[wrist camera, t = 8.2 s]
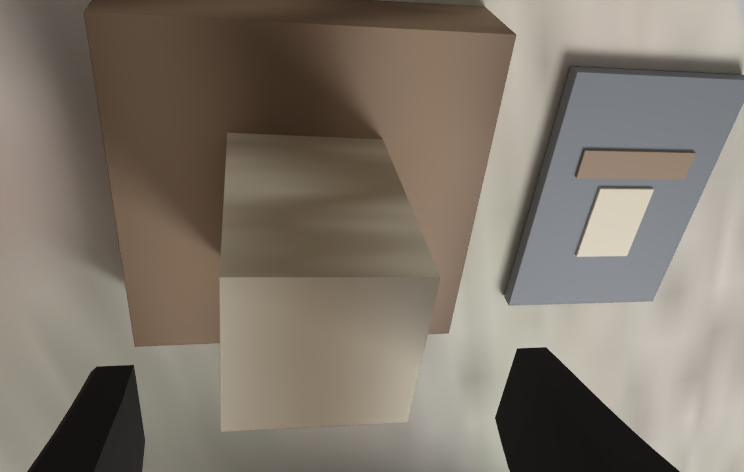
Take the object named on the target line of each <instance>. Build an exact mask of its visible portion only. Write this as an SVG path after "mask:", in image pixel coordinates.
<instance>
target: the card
mask: <svg viewBox="0 0 744 472" xmlns="http://www.w3.org/2000/svg"><path fill="white" fill-rule="evenodd" d="M743 103H744V75H736V74H716V73H696V72H675V71H655V70H635V69H615V68H595V67H575V66H570V70H569V73H568V77H567V80H566V84H565V87H564V91H563V94H562V98H561V101H560V105H559V108H558V112H557V115H556V119H555V122H554V126H553V129H552V133H551V136H550V140H549V143H548V147H547V150H546V154H545V157H544V161H543V164H542V167H541V171H540V174H539V178H538V181H537V185H536V188H535V192H534V195H533V199H532V202H531V206H530V209H529V213H528V216H527V220H526V223H525V227H524V230H523V234H522V237H521V241H520V244H519V248H518V251H517V255H516V258H515V262H514V265H513V269H512V272H511V276H510V279H509V283H508V286H507V290H506V293H505V299H506V301H507V303H508V305H543V304H577V303H612V302H646V301H653V299H654V297H655V295H656V293H657V291H658V288H659V286H660V284H661V282H662V280H663V277H664V275H665V273H666V271H667V269H668V267H669V264H670V262H671V260H672V258H673V256H674V253H675V251H676V249H677V247H678V245H679V242H680V240H681V238H682V236H683V234H684V232H685V229H686V227H687V225H688V223H689V221H690V218H691V216H692V214H693V212H694V210H695V208H696V205H697V203H698V201H699V199H700V197H701V194H702V192H703V190H704V188H705V186H706V183H707V181H708V179H709V177H710V175H711V173H712V170H713V168H714V166H715V164H716V162H717V159H718V157H719V155H720V153H721V151H722V149H723V146H724V144H725V142H726V140H727V138H728V135H729V133H730V131H731V129H732V127H733V124H734V122H735V120H736V118H737V116H738V114H739V111H740V109H741V107H742V105H743Z"/></svg>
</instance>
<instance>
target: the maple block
mask: <svg viewBox="0 0 744 472" xmlns="http://www.w3.org/2000/svg"><path fill="white" fill-rule="evenodd" d="M440 278H441V277H440V274H439V272H438V269H437V267H436V265H435V262H434V260H433V258H432V255H431V253H430V250H429V248H428V246H427V243H426V241H425V238H424V236H423V234H422V231H421V229H420V227H419V224H418V222H417V219H416V217H415V215H414V212H413V210H412V207H411V205H410V203H409V200H408V198H407V196H406V193H405V191H404V188H403V186H402V184H401V181H400V179H399V176H398V174H397V172H396V169H395V167H394V165H393V162H392V160H391V157H390V155H389V153H388V150H387V148H386V145H385V143H384V141H383V139H361V138H338V137H316V136H293V135H270V134H247V133H227V148H226V166H225V185H224V203H223V222H222V240H221V259H220V277H219V280H220V389H221V432H226V431H246V430H265V429H285V428H305V427H325V426H345V425H364V424H384V423H404V422H408V419H409V415H410V410H411V406H412V401H413V397H414V393H415V388H416V384H417V379H418V375H419V370H420V366H421V362H422V357H423V353H424V348H425V344H426V340H427V335H428V331H429V326H430V322H431V318H432V313H433V309H434V304H435V300H436V296H437V291H438V287H439V282H440Z"/></svg>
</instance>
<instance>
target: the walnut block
mask: <svg viewBox="0 0 744 472" xmlns="http://www.w3.org/2000/svg"><path fill="white" fill-rule="evenodd" d="M84 17H85V23H86V30H87V36H88V43H89V49H90V56H91V63H92V69H93V76H94V82H95V89H96V95H97V102H98V109H99V115H100V122H101V128H102V135H103V141H104V148H105V155H106V161H107V168H108V174H109V181H110V187H111V194H112V201H113V207H114V214H115V220H116V227H117V233H118V240H119V247H120V253H121V260H122V266H123V273H124V279H125V286H126V293H127V299H128V306H129V312H130V319H131V325H132V332H133V339H134V345H135V347H138V346H161V345H185V344H209V343H220V280H219V277H220V259H221V240H222V222H223V203H224V185H225V166H226V148H227V133H247V134H270V135H293V136H316V137H338V138H361V139H383V141H384V143H385V145H386V148H387V150H388V153H389V155H390V157H391V160H392V162H393V165H394V167H395V169H396V172H397V174H398V176H399V179H400V181H401V184H402V186H403V188H404V191H405V193H406V196H407V198H408V200H409V203H410V205H411V207H412V210H413V212H414V215H415V217H416V219H417V222H418V224H419V227H420V229H421V231H422V234H423V236H424V238H425V241H426V243H427V246H428V248H429V250H430V253H431V255H432V258H433V260H434V262H435V265H436V267H437V269H438V272H439V274H440V277H441V278H440V282H439V287H438V291H437V296H436V300H435V304H434V309H433V313H432V318H431V322H430V326H429V331H428V334H445V333H449V330H450V325H451V321H452V316H453V312H454V308H455V303H456V299H457V294H458V290H459V285H460V281H461V277H462V272H463V268H464V263H465V259H466V255H467V250H468V246H469V241H470V237H471V232H472V228H473V224H474V219H475V215H476V210H477V206H478V202H479V197H480V193H481V188H482V184H483V180H484V175H485V171H486V166H487V162H488V157H489V153H490V149H491V144H492V140H493V135H494V131H495V127H496V122H497V118H498V113H499V109H500V105H501V100H502V96H503V91H504V87H505V82H506V78H507V74H508V69H509V65H510V60H511V56H512V52H513V47H514V43H515V38H516V34H515V33H514V32H513V31H511V30H510V29H509V28H508V27H507V26H506V25H505V24H504V23H502V22H501V21H500V20H499V19H498V18H497V17H496V16H495V15H493V14H492V13H491V12H490V11H489V10H488V9H487V8H486V7H474V6H457V5H441V4H425V3H409V2H393V1H376V0H92V1H91V3H90V4H89V5H88V7H87V8H86V9H85V11H84Z"/></svg>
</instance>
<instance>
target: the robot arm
mask: <svg viewBox="0 0 744 472" xmlns="http://www.w3.org/2000/svg"><path fill="white" fill-rule="evenodd" d="M495 419H496V423H497V427H498V431H499V435H500V439H501V443H502V446H503V450H504V453H505V457H506V460H507V464H508V467H509V470H510V472H679V471H678V470H677V469H676V468H675V467H674V466H672V465H671V464H670V463H669V462H668V461H667V460H665V459H664V458H663V457H662V456H661V455H659V454H658V453H657V452H656V451H655V450H654V449H652V448H651V447H650V446H649V445H648V444H647V443H646V442H645V441H643V440H642V439H641V438H640V437H639V436H638V435H637V434H636V433H635V432H634V431H632V430H631V429H630V428H629V427H628V426H627V425H626V424H625V423H624V422H623V421H622V420H621V419H619V418H618V417H617V416H616V415H615V414H614V413H613V412H612V411H611V410H610V409H609V408H608V407H607V406H606V405H605V404H604V403H603V402H602V401H601V400H600V399H599V398H597V397H596V396H595V395H594V394H593V393H592V392H591V391H590V390H589V389H588V388H587V387H586V386H585V385H584V384H583V383H582V382H581V381H580V380H579V379H578V378H577V377H576V376H575V375H574V374H573V373H572V372H571V371H570V370H569V369H568V368H567V367H566V366H565V365H564V364H563V363H562V362H561V361H560V360H559V359H558V358H557V357H556V356H555V355H553V354H552V353H551V352H550V351H549V350H548V349H547V348H546V347H544V348H521V349H517V351H516V354H515V357H514V360H513V363H512V367H511V370H510V373H509V376H508V379H507V382H506V385H505V389H504V392H503V395H502V398H501V401H500V404H499V407H498V411H497V414H496V417H495ZM144 446H145V437H144V431H143V424H142V417H141V410H140V403H139V397H138V390H137V383H136V376H135V370H134V365H125V366H102V367H96V368H95V369H94V370H93V371H91V373H90V375H89V376H88V378H87V380H86V382H85V384H84V385H83V387H82V389H81V391H80V392H79V394H78V396H77V397H76V399H75V401H74V402H73V404H72V406H71V407H70V409H69V410H68V412H67V414H66V415H65V417H64V418H63V420H62V421H61V423H60V424H59V426H58V428H57V429H56V431H55V432H54V434H53V435H52V437H51V438H50V440H49V441H48V443H47V444H46V445H45V447H44V448H43V450H42V451H41V453H40V454H39V456H38V457H37V458H36V460H35V461H34V463H33V464H32V466H31V467H30V469H29V470H28V471H27V472H142V466H143V456H144Z"/></svg>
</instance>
